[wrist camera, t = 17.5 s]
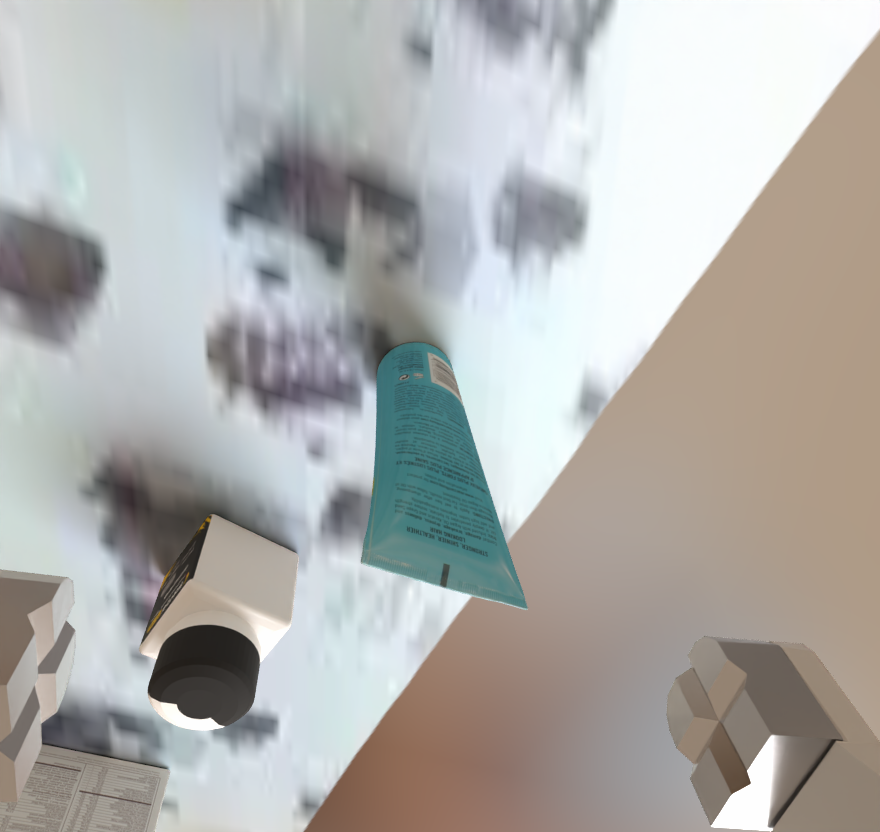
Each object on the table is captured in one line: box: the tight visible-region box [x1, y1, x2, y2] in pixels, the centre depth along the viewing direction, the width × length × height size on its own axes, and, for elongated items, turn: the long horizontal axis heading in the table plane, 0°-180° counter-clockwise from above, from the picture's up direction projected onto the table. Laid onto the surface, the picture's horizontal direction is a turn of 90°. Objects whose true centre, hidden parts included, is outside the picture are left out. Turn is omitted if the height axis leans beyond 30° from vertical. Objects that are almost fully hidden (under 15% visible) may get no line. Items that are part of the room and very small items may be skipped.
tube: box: [361, 342, 528, 610], centre depth 37 cm, size 7×5×19 cm, turn 70°
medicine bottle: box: [139, 514, 299, 730], centre depth 46 cm, size 7×7×12 cm
